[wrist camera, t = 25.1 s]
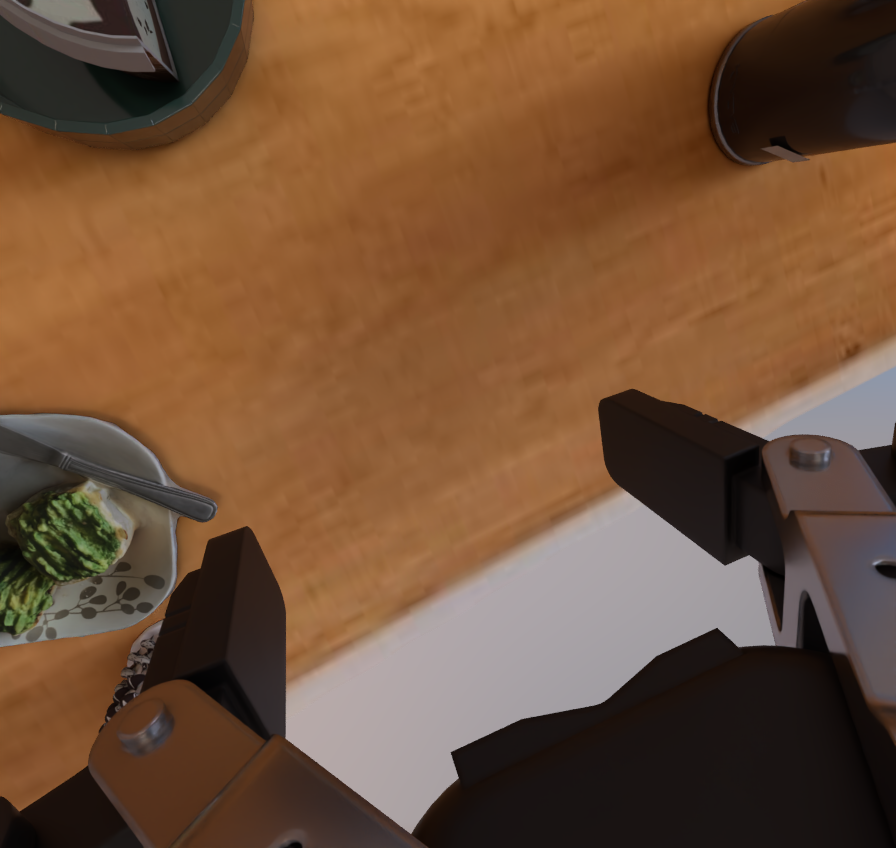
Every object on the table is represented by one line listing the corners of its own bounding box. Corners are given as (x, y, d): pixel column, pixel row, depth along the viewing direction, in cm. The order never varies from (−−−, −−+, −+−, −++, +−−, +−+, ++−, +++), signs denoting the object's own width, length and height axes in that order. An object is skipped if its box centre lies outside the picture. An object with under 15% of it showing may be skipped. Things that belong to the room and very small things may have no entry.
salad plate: (215, 389, 34) (205, 411, 30) (225, 610, 39) (217, 654, 35) (-170, 381, 28) (-250, 406, 24) (-94, 642, 33) (-147, 700, 29)
